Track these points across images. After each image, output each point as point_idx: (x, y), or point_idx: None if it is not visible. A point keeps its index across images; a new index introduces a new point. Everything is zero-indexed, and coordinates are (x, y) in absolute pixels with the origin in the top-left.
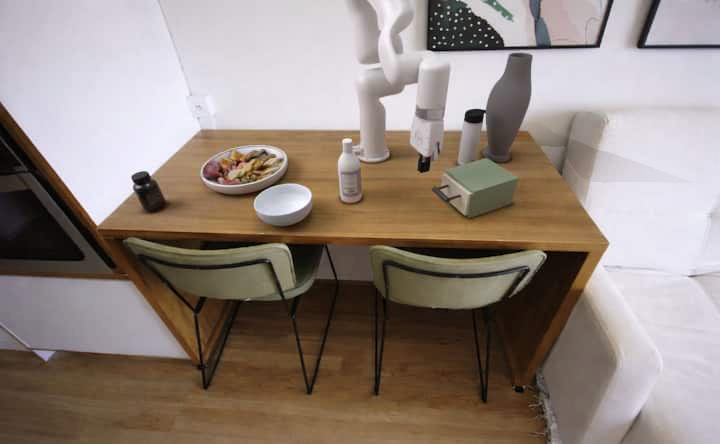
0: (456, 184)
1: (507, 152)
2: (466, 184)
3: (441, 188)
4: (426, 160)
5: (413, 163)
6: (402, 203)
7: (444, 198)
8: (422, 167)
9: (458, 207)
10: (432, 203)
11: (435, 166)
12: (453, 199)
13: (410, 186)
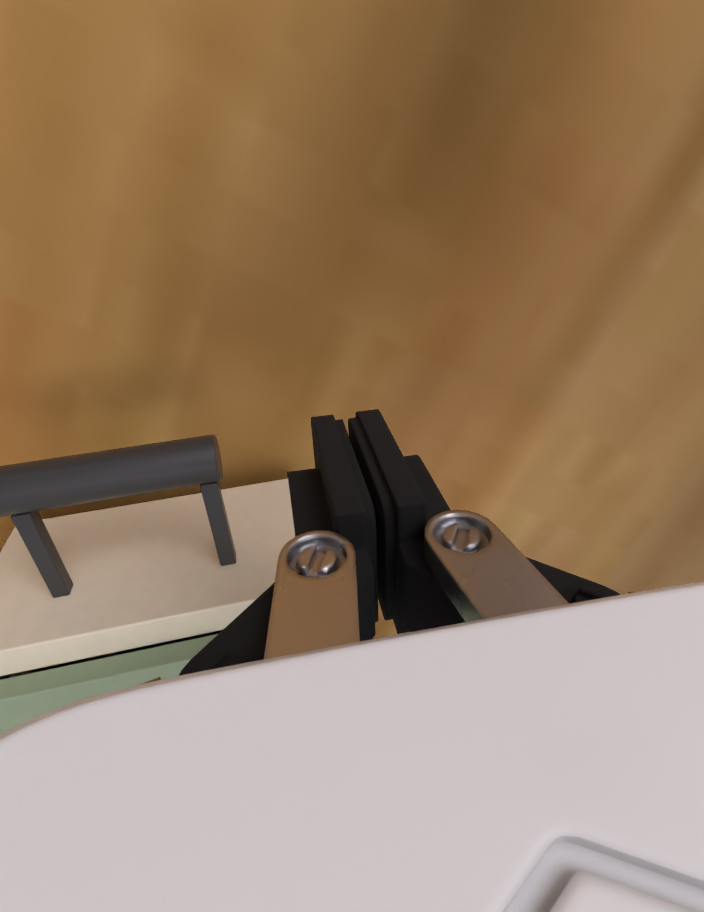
0: (125, 629)
1: None
2: (57, 697)
3: (206, 507)
4: (263, 602)
5: (669, 458)
6: (316, 181)
7: (9, 477)
8: (322, 476)
9: (89, 521)
10: (240, 397)
11: (568, 547)
12: (149, 527)
13: (481, 342)
